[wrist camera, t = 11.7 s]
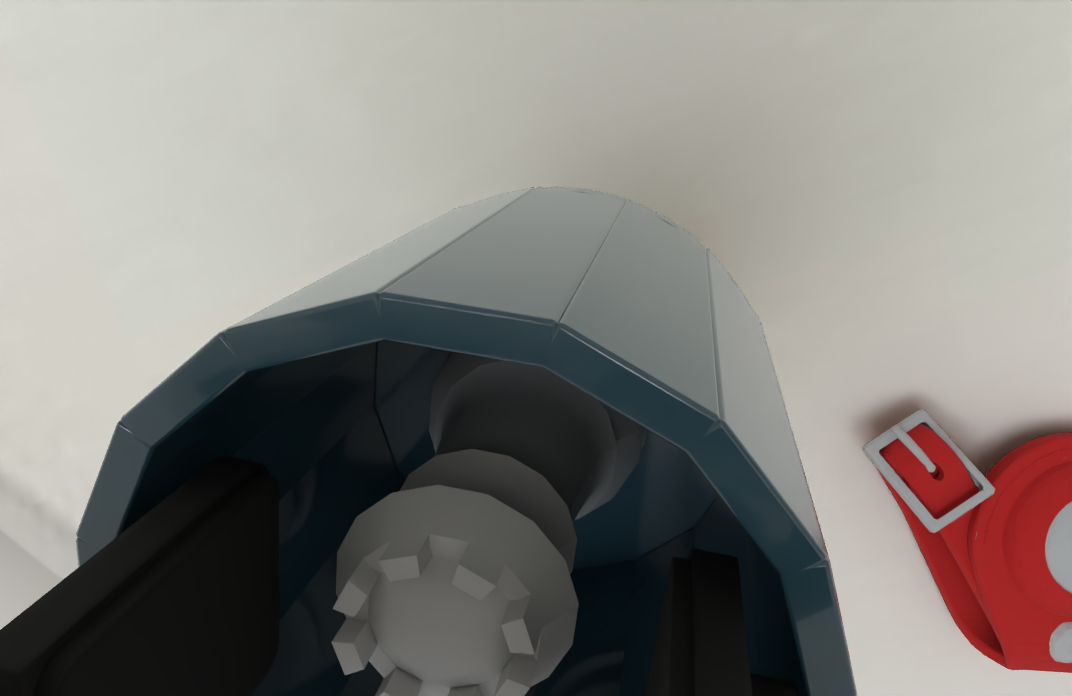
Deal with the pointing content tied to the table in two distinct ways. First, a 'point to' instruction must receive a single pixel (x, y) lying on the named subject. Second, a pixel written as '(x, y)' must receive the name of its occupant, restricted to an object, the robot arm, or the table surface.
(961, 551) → the tracker holder
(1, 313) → the table surface
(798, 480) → the tumbler
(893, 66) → the table surface
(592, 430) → the rook chess piece
